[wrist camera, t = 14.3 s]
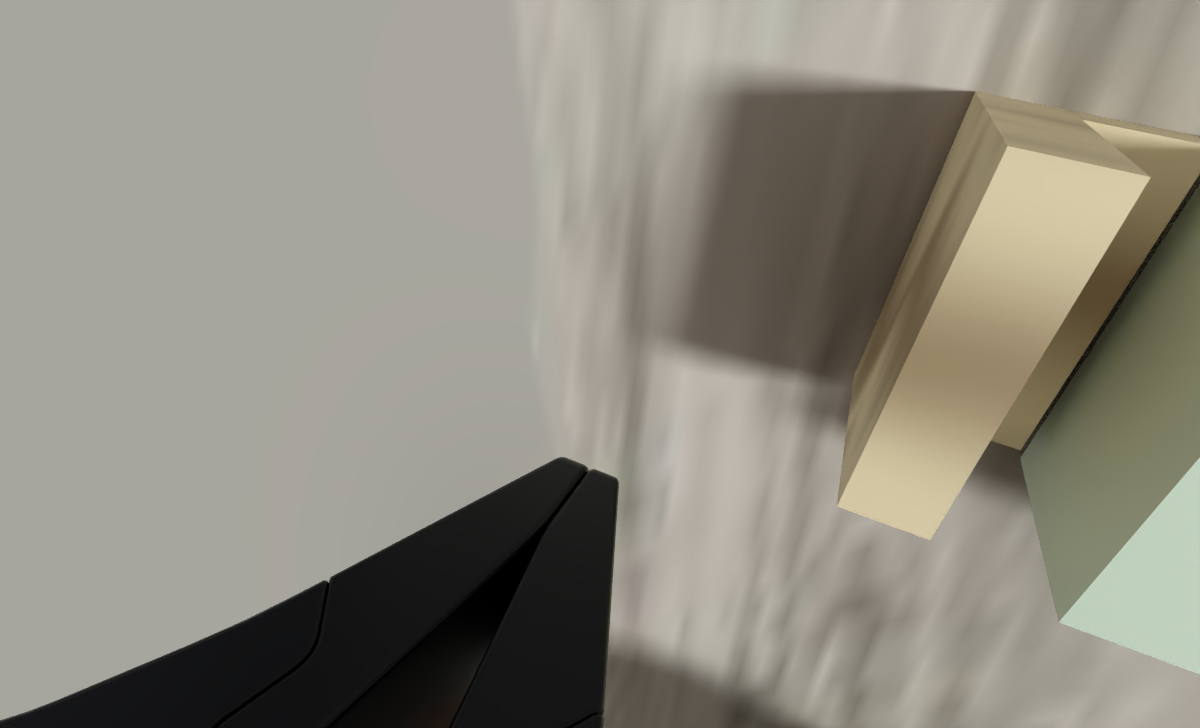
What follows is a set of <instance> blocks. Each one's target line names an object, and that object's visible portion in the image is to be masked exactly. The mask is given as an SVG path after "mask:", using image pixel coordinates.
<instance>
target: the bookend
mask: <svg viewBox="0 0 1200 728" xmlns="http://www.w3.org/2000/svg"><path fill="white" fill-rule="evenodd" d="M1199 174H1200V137H1198V136H1194V135H1190V134H1185V133H1180V132H1175V131H1170V130H1165V129H1160V128H1155V127H1150V126H1145V125H1140V124H1135V123H1130V122H1125V121H1120V120H1115V119H1110V118H1105V117H1100V116H1095V115H1090V114H1085V113H1080V112H1075V111H1071V110H1066V109H1061V108H1056V107H1051V106H1046V105H1041V104H1036V103H1031V102H1026V101H1021V100H1016V99H1011V98H1006V97H1001V96H996V95H991V94H986V93H981V92H976V91H975V93H974V95H973V98H972V100H971V103H970V105H969V107H968V110H967V112H966V114H965V117H964V119H963V121H962V124H961V126H960V128H959V131H958V133H957V135H956V138H955V140H954V142H953V145H952V147H951V149H950V152H949V154H948V156H947V159H946V161H945V163H944V166H943V168H942V170H941V173H940V175H939V177H938V180H937V182H936V184H935V187H934V189H933V191H932V194H931V196H930V198H929V201H928V203H927V205H926V208H925V210H924V212H923V215H922V217H921V219H920V222H919V224H918V226H917V229H916V231H915V233H914V236H913V238H912V241H911V243H910V245H909V248H908V250H907V252H906V255H905V257H904V259H903V262H902V264H901V266H900V269H899V271H898V273H897V276H896V278H895V280H894V283H893V285H892V287H891V290H890V292H889V294H888V297H887V299H886V301H885V304H884V306H883V308H882V311H881V313H880V315H879V318H878V320H877V322H876V325H875V327H874V329H873V332H872V334H871V336H870V339H869V341H868V343H867V346H866V348H865V350H864V353H863V355H862V357H861V360H860V362H859V364H858V367H857V369H856V372H855V374H854V376H853V384H852V392H851V400H850V407H849V415H848V423H847V431H846V439H845V447H844V455H843V463H842V471H841V478H840V486H839V494H838V502H837V507H840V508H843V509H845V510H848V511H851V512H854V513H856V514H859V515H862V516H865V517H868V518H870V519H873V520H876V521H879V522H881V523H884V524H887V525H890V526H892V527H895V528H898V529H901V530H904V531H906V532H909V533H912V534H915V535H917V536H920V537H923V538H926V539H928V540H930V539H931V538H932V536H933V535H934V533H935V531H936V530H937V528H938V526H939V525H940V523H941V521H942V520H943V518H944V516H945V515H946V513H947V512H948V510H949V508H950V507H951V505H952V503H953V502H954V500H955V498H956V497H957V495H958V493H959V492H960V490H961V489H962V487H963V485H964V484H965V482H966V480H967V479H968V477H969V475H970V474H971V472H972V470H973V469H974V467H975V466H976V464H977V462H978V461H979V459H980V457H981V456H982V454H983V452H984V451H985V449H986V447H987V446H988V444H989V442H990V441H993V442H996V443H999V444H1002V445H1006V446H1009V447H1012V448H1015V449H1018V450H1021V449H1022V447H1023V446H1024V444H1025V443H1026V441H1027V440H1028V438H1029V437H1030V435H1031V433H1032V432H1033V430H1034V429H1035V427H1036V426H1037V424H1038V423H1039V421H1040V420H1041V418H1042V417H1043V415H1044V413H1045V412H1046V410H1047V409H1048V407H1049V406H1050V404H1051V403H1052V401H1053V400H1054V398H1055V396H1056V395H1057V393H1058V392H1059V390H1060V389H1061V387H1062V386H1063V384H1064V383H1065V381H1066V379H1067V378H1068V376H1069V375H1070V373H1071V372H1072V370H1073V369H1074V367H1075V366H1076V364H1077V363H1078V361H1079V359H1080V358H1081V356H1082V355H1083V353H1084V352H1085V350H1086V349H1087V347H1088V346H1089V344H1090V342H1091V341H1092V339H1093V338H1094V336H1095V335H1096V333H1097V332H1098V330H1099V329H1100V327H1101V325H1102V324H1103V322H1104V321H1105V319H1106V318H1107V316H1108V315H1109V313H1110V312H1111V310H1112V309H1113V307H1114V305H1115V304H1116V302H1117V301H1118V299H1119V298H1120V296H1121V295H1122V293H1123V292H1124V290H1125V288H1126V287H1127V285H1128V284H1129V282H1130V281H1131V279H1132V278H1133V276H1134V275H1135V273H1136V271H1137V270H1138V268H1139V267H1140V265H1141V264H1142V262H1143V261H1144V259H1145V258H1146V256H1147V255H1148V253H1149V251H1150V250H1151V248H1152V247H1153V245H1154V244H1155V242H1156V241H1157V239H1158V238H1159V236H1160V234H1161V233H1162V231H1163V230H1164V228H1165V227H1166V225H1167V224H1168V222H1169V221H1170V219H1171V217H1172V216H1173V214H1174V213H1175V211H1176V210H1177V208H1178V207H1179V205H1180V204H1181V202H1182V201H1183V199H1184V197H1185V196H1186V194H1187V193H1188V191H1189V190H1190V188H1191V187H1192V185H1193V184H1194V182H1195V180H1196V179H1197V177H1198V176H1199Z"/></svg>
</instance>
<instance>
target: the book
mask: <svg viewBox="0 0 1200 728" xmlns="http://www.w3.org/2000/svg"><path fill="white" fill-rule="evenodd" d="M1020 460H1021V464H1022V469H1023V473H1024V477H1025V481H1026V485H1027V490H1028V494H1029V498H1030V502H1031V507H1032V511H1033V515H1034V519H1035V524H1036V528H1037V532H1038V536H1039V540H1040V545H1041V549H1042V553H1043V557H1044V562H1045V566H1046V570H1047V574H1048V579H1049V583H1050V587H1051V591H1052V595H1053V600H1054V604H1055V608H1056V612H1057V617H1058V621H1059V622H1060V623H1062V624H1065V625H1068V626H1071V627H1073V628H1076V629H1079V630H1081V631H1084V632H1087V633H1089V634H1092V635H1095V636H1097V637H1100V638H1103V639H1105V640H1108V641H1111V642H1114V643H1116V644H1119V645H1122V646H1124V647H1127V648H1130V649H1132V650H1135V651H1138V652H1140V653H1143V654H1146V655H1148V656H1151V657H1154V658H1157V659H1159V660H1162V661H1165V662H1167V663H1170V664H1173V665H1175V666H1178V667H1181V668H1183V669H1186V670H1189V671H1191V672H1194V673H1197V674H1200V184H1199V185H1198V187H1197V188H1196V190H1195V191H1194V193H1193V195H1192V196H1191V198H1190V199H1189V201H1188V202H1187V204H1186V205H1185V207H1184V208H1183V210H1182V211H1181V213H1180V214H1179V216H1178V217H1177V219H1176V221H1175V222H1174V224H1173V225H1172V227H1171V228H1170V230H1169V231H1168V233H1167V234H1166V236H1165V237H1164V239H1163V240H1162V242H1161V243H1160V245H1159V247H1158V248H1157V250H1156V251H1155V253H1154V254H1153V256H1152V257H1151V259H1150V260H1149V262H1148V263H1147V265H1146V266H1145V268H1144V269H1143V271H1142V273H1141V274H1140V276H1139V277H1138V279H1137V280H1136V282H1135V283H1134V285H1133V286H1132V288H1131V289H1130V291H1129V292H1128V294H1127V295H1126V297H1125V299H1124V300H1123V302H1122V303H1121V305H1120V306H1119V308H1118V309H1117V311H1116V312H1115V314H1114V315H1113V317H1112V318H1111V320H1110V322H1109V323H1108V325H1107V326H1106V328H1105V329H1104V331H1103V332H1102V334H1101V335H1100V337H1099V338H1098V340H1097V341H1096V343H1095V344H1094V346H1093V348H1092V349H1091V351H1090V352H1089V354H1088V355H1087V357H1086V358H1085V360H1084V361H1083V363H1082V364H1081V366H1080V367H1079V369H1078V370H1077V372H1076V374H1075V375H1074V377H1073V378H1072V380H1071V381H1070V383H1069V384H1068V386H1067V387H1066V389H1065V390H1064V392H1063V393H1062V395H1061V396H1060V398H1059V400H1058V401H1057V403H1056V404H1055V406H1054V407H1053V409H1052V410H1051V412H1050V413H1049V415H1048V416H1047V418H1046V419H1045V421H1044V422H1043V424H1042V426H1041V427H1040V429H1039V430H1038V432H1037V433H1036V435H1035V436H1034V438H1033V439H1032V441H1031V442H1030V444H1029V445H1028V447H1027V448H1026V450H1025V452H1024V453H1023V455H1022V456H1021V458H1020Z"/></svg>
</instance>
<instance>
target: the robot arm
mask: <svg viewBox="0 0 1200 728" xmlns="http://www.w3.org/2000/svg"><path fill="white" fill-rule="evenodd" d="M618 490H619V482H618V479H617V478H615V477H613V476H611V475H608V474H605V473H603V472H600V471H598V470H595V469H592V470H588V468H587V467H586V466H585V465H583V464H580V463H578V462H575V461H573V460H570V459H568V458H565V457H560V458H557V459H554V460H553V461H551V462H549V463H547V464H545V465H543V466H541V467H539V468H537V469H535V470H534V471H532V472H530V473H528V474H526V475H524V476H522V477H520V478H518V479H516V480H515V481H513V482H511V483H509V484H507V485H505V486H503V487H501V488H499V489H497V490H495V491H494V492H492V493H490V494H488V495H486V496H484V497H482V498H480V499H478V500H476V501H475V502H473V503H471V504H469V505H467V506H465V507H463V508H461V509H459V510H457V511H455V512H454V513H452V514H450V515H448V516H446V517H444V518H442V519H440V520H438V521H436V522H435V523H433V524H431V525H429V526H427V527H425V528H423V529H421V530H419V531H418V532H415V533H414V534H412V535H410V536H408V537H406V538H404V539H402V540H400V541H398V542H396V543H395V544H393V545H391V546H389V547H387V548H385V549H383V550H381V551H379V552H377V553H376V554H374V555H372V556H370V557H368V558H366V559H364V560H362V561H360V562H358V563H357V564H355V565H353V566H351V567H349V568H347V569H345V570H343V571H341V572H339V573H337V574H336V575H334V576H332V577H331V578H330V580H329V583H328V582H327V581H322V582H320V583H318V584H316V585H314V586H312V587H310V588H309V589H306V590H304V591H303V592H301V593H299V594H297V595H295V596H293V597H291V598H289V599H287V600H285V601H283V602H281V603H279V604H277V605H275V606H273V607H271V608H269V609H267V610H265V611H263V612H261V613H259V614H257V615H255V616H253V617H251V618H249V619H247V620H244V621H242V622H240V623H238V624H235V625H233V626H231V627H229V628H227V629H224V630H222V631H220V632H218V633H215V634H213V635H211V636H208V637H206V638H204V639H201V640H199V641H197V642H195V643H193V644H191V645H188V646H186V647H183V648H181V649H178V650H176V651H173V652H171V653H169V654H166V655H164V656H162V657H159V658H157V659H155V660H152V661H150V662H147V663H145V664H143V665H140V666H138V667H135V668H133V669H131V670H128V671H126V672H124V673H121V674H119V675H116V676H114V677H111V678H109V679H107V680H104V681H102V682H100V683H97V684H95V685H92V686H90V687H88V688H85V689H83V690H80V691H78V692H76V693H73V694H71V695H68V696H66V697H64V698H61V699H59V700H57V701H54V702H51V703H49V704H47V705H44V706H41V707H38V708H36V709H33V710H31V711H28V712H25V713H22V714H19V715H16V716H12V717H9V718H6V719H4V720H0V728H603V724H604V718H603V716H602V715H603V712H604V703H605V688H606V673H607V658H608V642H609V627H610V612H611V597H612V581H613V566H614V551H615V536H616V521H617V505H618Z"/></svg>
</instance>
